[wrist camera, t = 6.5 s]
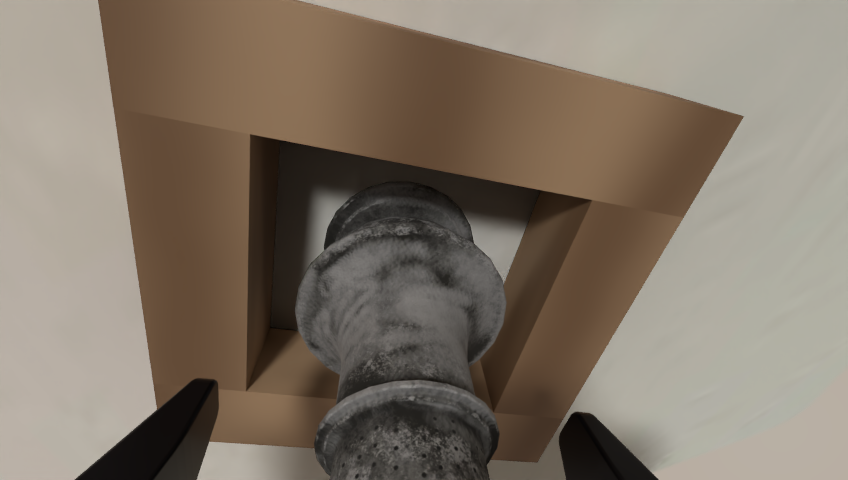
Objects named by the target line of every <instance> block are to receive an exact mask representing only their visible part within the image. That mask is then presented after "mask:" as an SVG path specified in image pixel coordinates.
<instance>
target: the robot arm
mask: <svg viewBox="0 0 848 480" xmlns="http://www.w3.org/2000/svg"><path fill="white" fill-rule="evenodd" d="M218 411H219V391H218V382H217V380H215V379H206V378H196V379H193V380H192V381H190V382H189V383H188V384H187V385H186V386H185V387H183V388H182V389H181V390H180V391H179V392H177V393H176V394H175V395H174V396H173V397H172V398H170V399H169V400H168V401H167V402H166V403H165V404H163V405H162V406H161V407H160V408H159V409H157V410H156V411H155V412H154V413H153V414H152V415H150V416H149V417H148V418H147V419H146V420H144V421H143V422H142V423H141V424H140V425H139V426H137V427H136V428H135V429H134V430H133V431H132V432H130V433H129V434H128V435H127V436H126V437H124V438H123V439H122V440H121V441H120V442H119V443H117V444H116V445H115V446H114V447H113V448H112V449H110V450H109V451H108V452H107V453H106V454H104V455H103V456H102V457H101V458H100V459H99V460H97V461H96V462H95V463H94V464H93V465H91V466H90V467H89V468H88V469H87V470H86V471H84V472H83V473H82V474H81V475H80V476H79V477H77V478H76V479H75V480H197V477H198V474H199V471H200V468H201V465H202V462H203V459H204V456H205V453H206V449H207V446H208V443H209V440H210V437H211V434H212V431H213V428H214V425H215V422H216V419H217V416H218ZM559 446H560V451H561V456H562V461H563V466H564V471H565V476H566V480H658V479H657V478H656V477H655V476H654V475H653V474H652V473H651V472H650V471H649V470H648V469H647V468H646V467H645V466H644V465H643V464H642V463H641V462H640V461H639V460H638V459H637V458H636V457H635V456H634V455H633V454H632V453H631V452H630V451H629V450H628V449H627V448H626V447H625V446H624V445H623V444H622V443H621V442H620V441H619V440H618V439H617V438H616V437H615V436H614V435H613V434H612V433H611V432H610V431H609V430H608V429H607V428H606V427H605V426H604V425H603V424H602V423H601V422H600V421H599V420H598V419H597V418H596V417H595V416H594V415H592V414H590V413H583V412H574V413H573V414H572V415H571V416H570V418H569V419H568V421H567V423H566V424H565V426H564V428H563V429H562V431H561V433H560V436H559Z"/></svg>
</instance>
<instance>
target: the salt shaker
mask: <svg viewBox="0 0 848 480" xmlns="http://www.w3.org/2000/svg"><path fill="white" fill-rule="evenodd" d="M506 304H507V302H506V296H505V291H504V285H503V281H502V278H501V277H500V275H499V273H498V271H497V270H496V268H495V266H494V264H493V263H492V261H491V259H490V258H489V257H488V256H487V255H486V254H485V253H483V252H482V251H481V250H480V249H479V248H478V247H477V246H476V245H475V244H474V241H473V236H472V232H471V227H470V224H469V223H468V221H467V219H466V217H465V216H464V214H463V212H462V210H461V209H460V208H459V207H458V206H457V205H456V204H455V203H454V202H453V201H452V200H451V199H450V198H449V197H448V196H446V195H444V194H442V193H440V192H438V191H436V190H435V189H433V188H431V187H428V186H424V185H419V184H415V183H411V182H388V183H384V184H380V185H377V186H373V187H369V188H367V189H365V190H363V191H361V192H360V193H358V194H356V195H354V196H353V197H351V198H349V199H348V200H347V201H346V202H345V203H344V204H343V205H342V206H341V207H340V208H339V209H338V210H337V211H336V213H335V215H334V217H333V219H332V221H331V223H330V224H329V226H328V229H327V233H326V239H325V244H324V251H323V252H322V253H321V254H320V255H319V256H318V257H317V258H316V259H315V260H314V261H313V262H312V263H311V264H310V266H309V268H308V270H307V272H306V274H305V275H304V277H303V279H302V281H301V283H300V285H299V287H298V293H297V299H296V305H295V314H296V319H297V325H298V330H299V333H300V335H301V336H302V338H303V340H304V342H305V344H306V345H307V347H308V349H309V351H310V352H311V353H312V354H313V355H314V356H315V357H316V358H317V359H318V360H319V361H320V362H321V363H322V364H324V365H325V366H326V367H327V368H329V369H330V370H332V371H334V372H335V373H337V374H339V375H340V378H339V386H338V393H337V400H336V405H335V406H334V407H333V408H331V409H330V410H329V411H328V412H327V414H326V415H325V417H324V418H323V419H322V421H321V422H320V424H319V425H318V429H317V433H316V437H315V441H314V447H315V452H316V457H317V460H318V462H319V463H320V464H321V466H322V467H323V469H324V470H325V472H326V473H327V474H328V475H330V480H490V478H489V474H488V469H487V464H488V463H489V461H490V460H491V458H492V456H493V455H494V453H495V451H496V450H497V447H498V441H499V436H500V433H499V429H498V425H497V421H496V418H495V415H494V414H493V412H492V411H491V410H490V409H489V407H488V406H487V405H486V403H485V402H483V401H482V400H480V399H479V398H477V397H476V396H475V392H474V388H473V383H472V379H471V374H470V370H469V367H470V366H471V365H473V364H474V363H475V362H477V361H478V360H479V359H480V358H481V357H482V356H483V355H484V354H485V352H486V351H487V350H488V349H489V348H490V347H491V346H492V344H493V343H494V342H495V340H496V338H497V336H498V334H499V332H500V330H501V328H502V326H503V323H504V317H505V310H506Z"/></svg>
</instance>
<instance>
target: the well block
mask: <svg viewBox="0 0 848 480" xmlns="http://www.w3.org/2000/svg"><path fill="white" fill-rule="evenodd" d="M98 3H99V9H100V16H101V23H102V30H103V37H104V44H105V51H106V58H107V65H108V72H109V79H110V86H111V93H112V100H113V107H114V114H115V120H116V127H117V134H118V141H119V148H120V155H121V162H122V169H123V176H124V183H125V190H126V197H127V204H128V211H129V218H130V225H131V231H132V238H133V245H134V252H135V259H136V266H137V273H138V280H139V287H140V294H141V301H142V308H143V315H144V322H145V329H146V336H147V342H148V349H149V356H150V363H151V370H152V377H153V384H154V391H155V398H156V405H157V409H159V408H160V407H161V406H162V405H163V404H165V403H166V402H167V401H168V400H169V399H170V398H172V397H173V396H174V395H175V394H176V393H177V392H179V391H180V390H181V389H182V388H183V387H185V386H186V385H187V384H188V383H189V382H190V381H192V380H193V379H196V378H206V379H215V380H217V382H218V391H219V411H218V416H217V419H216V422H215V425H214V428H213V431H212V434H211V437H210V440H209V441H210V442H226V443H241V444H257V445H272V446H288V447H303V448H315V447H314V441H315V437H316V433H317V429H318V425H319V424H320V422H321V421H322V419H323V418H324V417H325V415H326V414H327V412H328V411H329V410H330V409H331V408H333V407H334V406H335V405H336V400H337V393H338V386H339V378H340V375H339V374H337V373H335V372H334V371H332V370H330V369H329V368H327V367H326V366H325V365H324V364H322V363H321V362H320V361H319V360H318V359H317V358H316V357H315V356H314V355H313V354H312V353H311V352H310V351H309V349H308V347H307V345H306V344H305V342H304V340H303V338H302V336H301V335H300V333H299V331H293V330H284V329H275V328H270V322H271V302H272V283H273V264H274V244H275V225H276V206H277V187H278V167H279V148H280V140H283V141H288V142H293V143H299V144H304V145H309V146H314V147H319V148H325V149H330V150H335V151H340V152H345V153H350V154H356V155H361V156H366V157H371V158H376V159H382V160H387V161H392V162H397V163H402V164H408V165H413V166H418V167H423V168H428V169H434V170H439V171H444V172H449V173H454V174H460V175H465V176H470V177H475V178H480V179H486V180H491V181H496V182H501V183H506V184H512V185H517V186H522V187H527V188H532V189H538V190H541V191H540V194H539V197H538V199H537V202H536V204H535V207H534V209H533V212H532V214H531V217H530V220H529V222H528V225H527V227H526V230H525V232H524V235H523V237H522V240H521V242H520V245H519V248H518V250H517V253H516V255H515V258H514V260H513V263H512V265H511V268H510V270H509V273H508V276H507V278H506V281H505V283H504V291H505V296H506V302H507V304H506V310H505V317H504V323H503V326H502V328H501V330H500V332H499V334H498V336H497V338H496V340H495V342H494V343H493V344H492V346H491V347H490V348H489V349H488V350H487V351H486V352H485V354H484V355H483V356H482V357H481V358H480V359H479V360H478V361H477V362H475V363H474V364H473V365H471V366H470V367H469V370H470V374H471V379H472V383H473V388H474V392H475V396H476V397H477V398H479V399H480V400H482V401H483V402H485V403H486V405H487V406H488V407H489V409H490V410H491V411H492V412H493V414H494V415H495V418H496V421H497V425H498V429H499V433H500V436H499V441H498V447H497V450H496V451H495V453H494V455H493V456H492V458H491V460H506V461H521V462H538V460H539V459H540V457H541V455H542V454H543V452H544V450H545V448H546V447H547V445H548V443H549V442H550V440H551V438H552V437H553V435H554V433H555V432H556V430H557V428H558V427H559V425H560V423H561V422H562V420H563V418H564V417H565V415H566V413H567V412H568V410H569V408H570V407H571V405H572V403H573V402H574V400H575V398H576V397H577V395H578V393H579V392H580V390H581V388H582V387H583V385H584V383H585V382H586V380H587V378H588V377H589V375H590V373H591V371H592V370H593V368H594V366H595V365H596V363H597V361H598V360H599V358H600V356H601V355H602V353H603V351H604V350H605V348H606V346H607V345H608V343H609V341H610V340H611V338H612V336H613V335H614V333H615V331H616V330H617V328H618V326H619V325H620V323H621V321H622V320H623V318H624V316H625V315H626V313H627V311H628V310H629V308H630V306H631V305H632V303H633V301H634V300H635V298H636V296H637V295H638V293H639V291H640V289H641V288H642V286H643V284H644V283H645V281H646V279H647V278H648V276H649V274H650V273H651V271H652V269H653V268H654V266H655V264H656V263H657V261H658V259H659V258H660V256H661V254H662V253H663V251H664V249H665V248H666V246H667V244H668V243H669V241H670V239H671V238H672V236H673V234H674V233H675V231H676V229H677V228H678V226H679V224H680V223H681V221H682V219H683V218H684V216H685V214H686V213H687V211H688V209H689V207H690V206H691V204H692V202H693V201H694V199H695V197H696V196H697V194H698V192H699V191H700V189H701V187H702V186H703V184H704V182H705V181H706V179H707V177H708V176H709V174H710V172H711V171H712V169H713V167H714V166H715V164H716V162H717V161H718V159H719V157H720V156H721V154H722V152H723V151H724V149H725V147H726V146H727V144H728V142H729V141H730V139H731V137H732V136H733V134H734V132H735V130H736V129H737V127H738V125H739V124H740V122H741V120H742V119H743V117H744V116H741V115H737V114H734V113H730V112H727V111H724V110H720V109H717V108H713V107H710V106H707V105H703V104H700V103H697V102H693V101H690V100H686V99H683V98H680V97H676V96H673V95H669V94H666V93H662V92H658V91H654V90H650V89H646V88H642V87H638V86H634V85H630V84H626V83H622V82H618V81H614V80H610V79H606V78H602V77H598V76H594V75H590V74H586V73H582V72H579V71H575V70H571V69H567V68H563V67H559V66H555V65H551V64H547V63H543V62H539V61H535V60H531V59H527V58H523V57H519V56H515V55H511V54H507V53H503V52H499V51H495V50H492V49H488V48H484V47H480V46H476V45H472V44H468V43H464V42H460V41H456V40H452V39H448V38H444V37H440V36H436V35H432V34H428V33H424V32H420V31H416V30H412V29H408V28H404V27H401V26H397V25H393V24H389V23H385V22H381V21H377V20H373V19H369V18H365V17H361V16H357V15H353V14H349V13H345V12H341V11H337V10H333V9H329V8H325V7H321V6H317V5H313V4H310V3H306V2H302V1H298V0H98Z"/></svg>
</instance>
